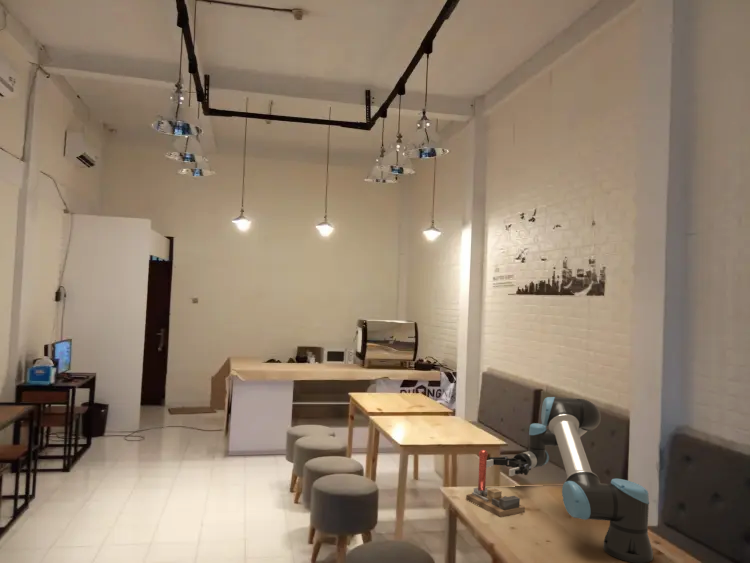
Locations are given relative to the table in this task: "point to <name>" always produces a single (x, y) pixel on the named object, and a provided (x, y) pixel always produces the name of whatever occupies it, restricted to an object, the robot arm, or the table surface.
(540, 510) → the table surface
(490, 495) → the block
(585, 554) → the table surface
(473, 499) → the press bed
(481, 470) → the press lever
